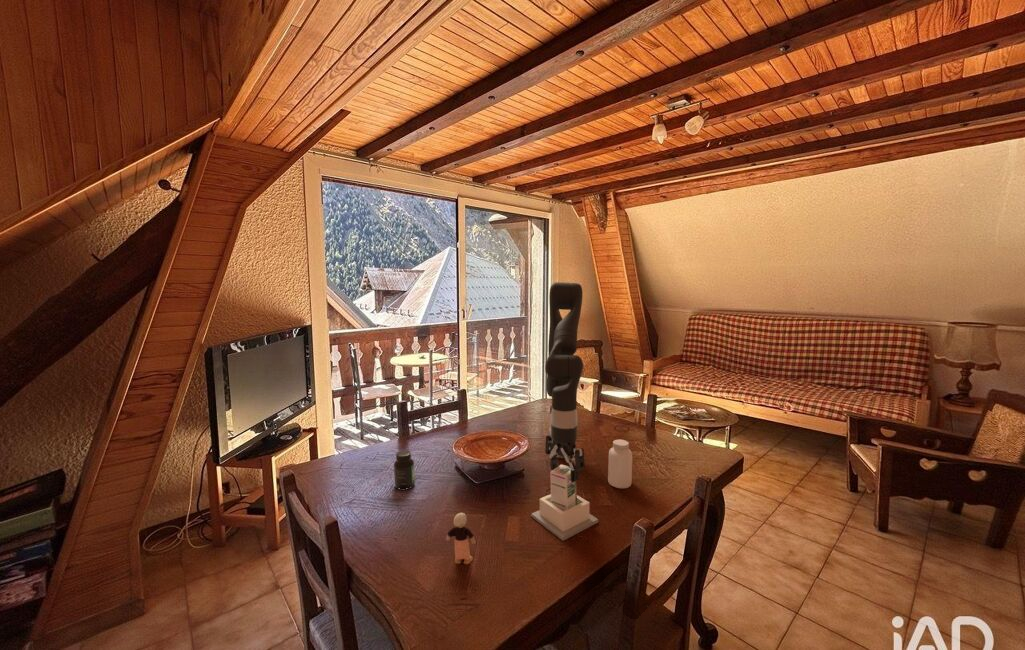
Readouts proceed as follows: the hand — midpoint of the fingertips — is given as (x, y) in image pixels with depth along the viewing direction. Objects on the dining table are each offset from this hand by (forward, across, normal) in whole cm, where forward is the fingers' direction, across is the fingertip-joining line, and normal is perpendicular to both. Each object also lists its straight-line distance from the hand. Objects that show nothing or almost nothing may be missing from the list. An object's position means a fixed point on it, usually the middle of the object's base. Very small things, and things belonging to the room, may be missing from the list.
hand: (564, 475), depth 118 cm
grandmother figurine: (+14, -3, -33) cm, 36 cm away
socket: (+14, 0, 0) cm, 14 cm away
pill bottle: (+14, -4, +30) cm, 33 cm away
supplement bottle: (+14, -48, -31) cm, 59 cm away
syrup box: (+13, 0, 0) cm, 13 cm away
